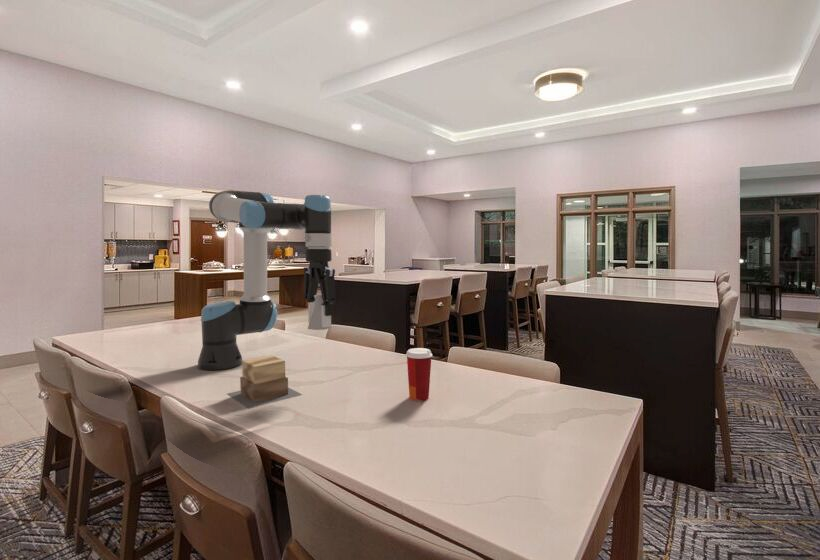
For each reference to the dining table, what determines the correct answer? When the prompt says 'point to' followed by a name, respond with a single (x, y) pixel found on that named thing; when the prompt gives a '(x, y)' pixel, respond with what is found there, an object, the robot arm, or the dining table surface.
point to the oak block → (263, 369)
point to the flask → (317, 315)
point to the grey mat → (251, 404)
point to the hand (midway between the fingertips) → (319, 324)
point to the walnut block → (264, 389)
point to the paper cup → (419, 373)
